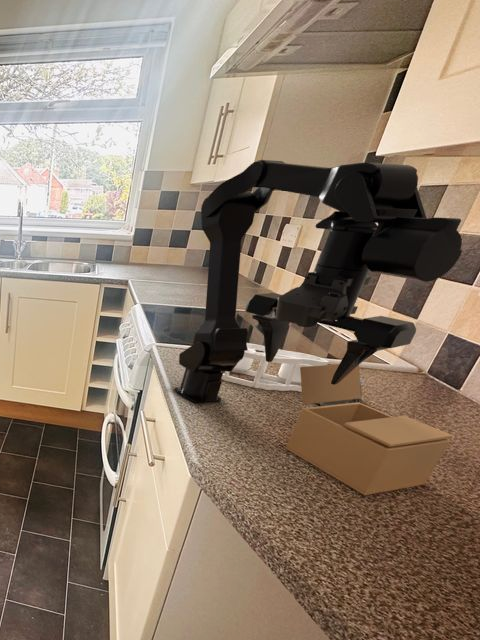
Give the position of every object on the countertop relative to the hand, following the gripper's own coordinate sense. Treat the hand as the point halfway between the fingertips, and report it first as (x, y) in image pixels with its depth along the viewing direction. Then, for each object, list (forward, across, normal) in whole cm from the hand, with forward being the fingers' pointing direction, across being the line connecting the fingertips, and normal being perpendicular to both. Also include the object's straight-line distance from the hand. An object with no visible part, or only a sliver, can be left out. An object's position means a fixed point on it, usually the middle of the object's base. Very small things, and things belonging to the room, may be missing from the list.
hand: (299, 372), depth 63 cm
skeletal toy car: (+14, -18, +27) cm, 35 cm away
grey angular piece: (+14, -5, +31) cm, 34 cm away
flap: (+2, +1, +8) cm, 8 cm away
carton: (+13, +8, +7) cm, 17 cm away
